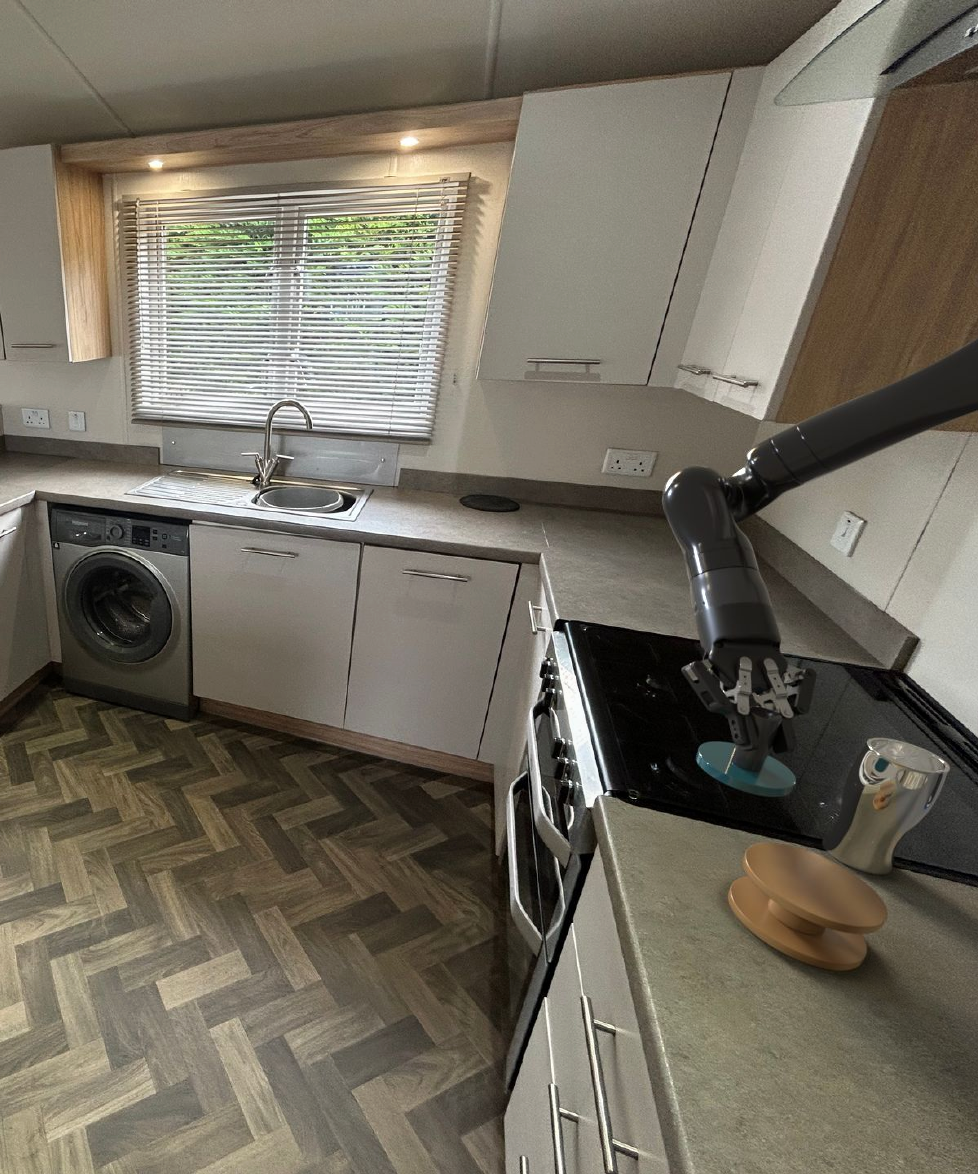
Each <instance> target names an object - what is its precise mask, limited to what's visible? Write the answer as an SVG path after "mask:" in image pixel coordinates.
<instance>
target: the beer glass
mask: <svg viewBox="0 0 978 1174" xmlns="http://www.w3.org/2000/svg"><path fill="white" fill-rule="evenodd" d="M950 770H951V766H950V765H949V763H947V761H945V759H943V758H942V757H940V756H938V755H937V754H936V753H933V752H931V751H930V750H927V749H925V748H923V747H920V746H918V745H914V744H912V743H909V742H906V741H902V740H897V739H893V738H887V737H871V738H869V739H867V741H866V743H865V745H864V746H863V747H862V749H861V751H860V752H859V753H858V755H857V756H856V759H855V760H854V762H853V764H852V766H851V767H850V770H849V772H848V774H847V777H846V779H845V784H844V788H843V793H842V799H841V805H840V810H839V815H838V817H837V820H836V822H835V823H834V825H833V826H832V827H831V829H830V830H829V831H828V832H827V833H826V834H825V835H824V836H823V838H822V839H821V845H822V847H823V849H824V850H825V851H826V852H827V853H828V854H829V856H831V857H832V858H834V859H835V860H837V861H838V862H840V863H842V864H843V865H846V866H848V867H850V868H853V869H854V870H857V871H861V872H863V873H867V874H871V875H878V876H879V875H880V876H881V875H882V876H883V875H887V874H889V873H890V872H891V871H892V869H893V865H894V859H895V854H896V851H897V849H898V847H899V846H900V844H901V842H902V841H903V840H904V839H905V838H906V837H907V836H908V835H909V833H911V832H912V831H913V830H914V829H915V828H916V827H917V826H918V825H919V823H920V822H921V821H922V820H923V819H924V818H925V817H926V816H927V815H928V813H929V812H930V811H931V810H932V808H933V807H934V805H935V803H936V801H937V800H938V798H939V796H940V794H941V791H942V789H943V787H944V784H945V782H946V778H947V776H948V773H949V771H950Z"/></svg>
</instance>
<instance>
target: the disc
mask: <svg viewBox="0 0 978 1174" xmlns="http://www.w3.org/2000/svg"><path fill="white" fill-rule="evenodd" d="M747 716H752V719H753V723H754V727H755V731H756V735H757V739H758V743H759V748H758V749H757V750H752V751H741V750H740V749H739V746H738V745H736V744H735V743H734V742H727V741H707V742H704V743H702V744H701V745H700V746H698V749H697V752H696V755H695V760H696V763H697V764H698V766H699V767H700V768H701V769H702V770H703V771H704V772H705V773H707V774H708V775H709V776H710V777H712V778H713V779H715V780H717V781H718V782H720V783H723V784H724V785H726V786H729V787H731V788H733V789H736V790H739V791H742V792H746V793H748V794H752V795H757V796H761V797H768V798H781V797H785V796H788V795H790V794H791V793H792V792H793V790H794V788H795V785H796V783H797V779H796V775H795V774H794V773H793V772H792V770H791V769H790V768H789V767H788V766H786V765H785V764H784V763H783V762H781V761H779V760H778V759H776V758H774V757H773V756H770V755H769V753H770V751H771V748H772V744H773V741H774V739H775V736H776V734H777V732H778V729H779V727H780V724H781V722H782V719H783V718H782V716H781V715H780V714H778V713H776V712H774V711H772V710H769V709H766V708H762V707H761V706H749V713H748V714H747Z"/></svg>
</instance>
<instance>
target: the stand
mask: <svg viewBox="0 0 978 1174" xmlns="http://www.w3.org/2000/svg"><path fill="white" fill-rule="evenodd" d="M741 864H742V868H743V870H744V873H745V874H746V876H743V877H740V878H737V879H736V880H734V881H733V882H732V883H731V885H730V888H729V890H728V893H727V901H728V904H729V907H730V908H731V911H732V912H733V914H734V915H735V917H736V918H737V919H738V920H739V922H741V924H742V925H743V926H745V928H746V929H747V930H749V931H750V932H751V933H752V934H754V935H755V936H756V937H758V938H759V939H760V940H761V941H763V942H764V943H766V944H767V945H768V946H770V947H772V948H773V949H775V950H777V951H779V952H781V953H782V954H785V955H786V956H788V957H790V958H793V959H795V960H797V961H800V962H802V963H805V964H807V965H810V966H813V967H816V968H821V969H825V970H830V971H839V972H840V971H849V970H854V969H856V968H858V967H859V966H861V965H862V964H863V962H864V960H865V958H866V956H867V954H868V945H867V942H866V940H865V938H864V936H863V935H867V934H873V933H874V934H875V933H876V932H879V930H881V929H882V928H883V926H884V925H885V923H886V921H887V919H888V915H889V914H888V909H887V906H886V904H885V902H884V901H883V898H882V897H881V896H880V895H879V894H878V893H877V892H876V891H875V890H874V889H873V888H872V887H871V886H870V885H869V884H868V883H867V882H865V881H864V880H863V879H862V878H860V877H859V876H857V875H856V874H854V873H853V872H852V871H850V870H849V869H847V868H845V867H843V866H842V865H840V864H838V863H836V862H834V861H832V860H830V859H828V858H826V857H824V856H821V855H819V854H817V853H814V852H812V851H809V850H806V849H803V848H800V847H797V846H793V845H789V844H784V843H778V842H759V843H755V844H752V845H751V846H749V847H748V848H747V849H746V850H745V853H744V855H743V858H742V862H741Z"/></svg>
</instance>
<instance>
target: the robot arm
mask: <svg viewBox="0 0 978 1174" xmlns="http://www.w3.org/2000/svg"><path fill="white" fill-rule="evenodd" d="M977 412H978V337H976V338H975V339H973V340H971V341H970V342H968V343H966V344H964V346H962V347H960V348H958V349H957V350H955V351H953V352H951V353H950V354H948V355H946V356H945V357H943V358H940V359H939V360H937V361H935V362H934V363H931V364H929V365H927V366H926V367H924V368H922V369H920V370H917V371H916V372H912V373H911V374H909V375H907V376H905V377H903V378H901V379H898V380H897V381H893V382H891V383H890V384H887V385H885V386H882V387H880V388H877V389H875V390H872V391H870V392H868V393H865V394H862V395H859V396H857V397H854V398H852V399H850V400H847V401H845V402H843V403H840V404H838V405H834V406H833V407H830V408H828V409H826V410H824V411H821V412H819V413H817V414H814V415H812V416H810V417H808V418H806V419H804V420H802V421H800V422H798V423H796V424H793V425H792V426H790V427H787V428H786V429H783V430H782V431H780V432H777V433H775V434H773V435H771V437H770V436H769V437H767V438H766V439H764V440H762V441H760V442H758V443H756V444H754V445H753V446H752V447H750V448H749V449H748V450H747V452H746V454H745V462H746V465H744V466H743V467H741V468H740V469H738V470H737V471H735V472H734V473H732V474H731V475H729V476H727V477H726V476H724V475H723V474H722V473H721V472H719V471H718V470H716V469H714V468H711V467H709V466H704V465H690V466H686V467H683V468H682V469H679V470H678V471H676V472H675V473H673V474H672V475H671V476H670V477H669V478H668V480H667V481H666V482H665V484H664V487H663V489H662V495H661V500H662V501H661V503H662V508H663V512H664V515H665V518H666V520H667V522H668V524H669V527H670V529H671V531H672V533H673V536H674V537H675V539H676V541H677V543H678V545H679V547H680V549H681V552H682V555H683V559H684V566H685V570H686V573H687V578H688V582H689V583H688V584H689V591H690V592H689V594H690V602H691V607H692V611H693V616H694V621H695V624H696V625H695V626H696V630H697V633H698V639H699V643H700V647H701V649H702V650H703V651H704V655H703V657H702V660H694V661H693V662H691V663H689V664H686V665H685V666H683V667H681V672H682V674H683V676H684V677H685V678H686V680H687V681H688V683H689V684H690V686H691V687H692V690H693V691H694V692H695V693H696V695H697V696H698V698H699V699H700V700H701V702H702V704H703V705H704V707H705V709H706V710H707V711H708V712H711V713H718V714H721V715H723V716H724V717H725V718H727V720H728V724H729V728H730V732H731V737H732V741H733V744H736V745H738V746H739V749H740V750H741V751H752V750H757V749H758V748H759V743H758V739H757V735H756V731H755V727H754V723H753V719H752V716H747V714H748V713H749V708H750V696H752V697H753V699H754V701H755V702H756V704H759V705H760V707H762V708H766V709H769V710H772V711H774V712H776V713H778V714H780V715H781V716H782V718H783V719H782V722H781V724H780V727H779V729H778V732H777V734H776V736H775V739H774V741H773V744H772V746H771V748H772V751H773V753H774V754H776V755H787V754H793V753H794V752H795V749H796V748H797V746H798V741H797V738H796V733H795V731H794V727H793V723H792V720H793V718H796V717H799V716H803V715H807V714H808V713H810V709H811V703H812V700H813V693H814V691H815V690H814V689H815V685H816V680H817V676H818V675H817V672H816V671H815V670H814V669H812V668H809V667H808V668H805V669H801V668H798V667H796V666H794V665H791V664H789V661H788V660H787V658H786V657H785V656H784V654H783V653H782V651H781V643H782V636H781V633H780V630H779V627H778V623H777V620H776V619H777V618H776V615H775V612H774V608H773V605H772V601H771V597H770V594H769V591H768V587H767V586H766V583H765V581H764V579H763V578H762V575H761V572H760V569H759V566H758V562H757V557H756V554H755V551H754V548H753V545H752V543H751V541H750V540H749V538H748V536H747V535H746V534H745V533H744V532H743V531H742V530H741V529H740V528H739V526H738V524H741V523H742V522H744V521H746V520H748V519H749V518H751V517H752V516H755V515H756V514H757V513H758V512H760V511H762V510H763V509H765V508H767V507H768V506H770V505H771V504H773V503H774V502H775V501H777V500H779V499H780V498H781V497H782V496H784V495H785V494H787V493H788V492H790V491H791V490H795V489H797V488H800V487H802V486H804V485H807V484H809V483H811V482H814V481H816V480H818V479H820V478H823V477H825V476H828V475H831V474H832V473H834V472H837V471H840V470H841V469H843V468H846V467H848V466H851V465H853V464H855V463H857V462H859V461H862V460H864V459H866V458H868V457H871V456H872V455H875V454H877V453H879V452H882V451H883V450H887V449H888V448H890V447H893V446H894V445H897V444H900V443H901V442H904V441H906V440H908V439H911V438H913V437H915V436H917V435H920V434H922V433H925V432H927V431H930V430H932V429H935V428H937V427H940V426H942V425H945V424H947V423H951V422H952V421H955V420H958V419H960V418H963V417H965V416H969V415H972V414H974V413H977ZM713 675H714V676H715V677H714V676H713ZM783 677H784V681H783V680H782V679H783ZM715 678H717V679H718V680H719V683H718V681H717V680H716V679H715ZM785 685H786V686H785Z"/></svg>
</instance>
